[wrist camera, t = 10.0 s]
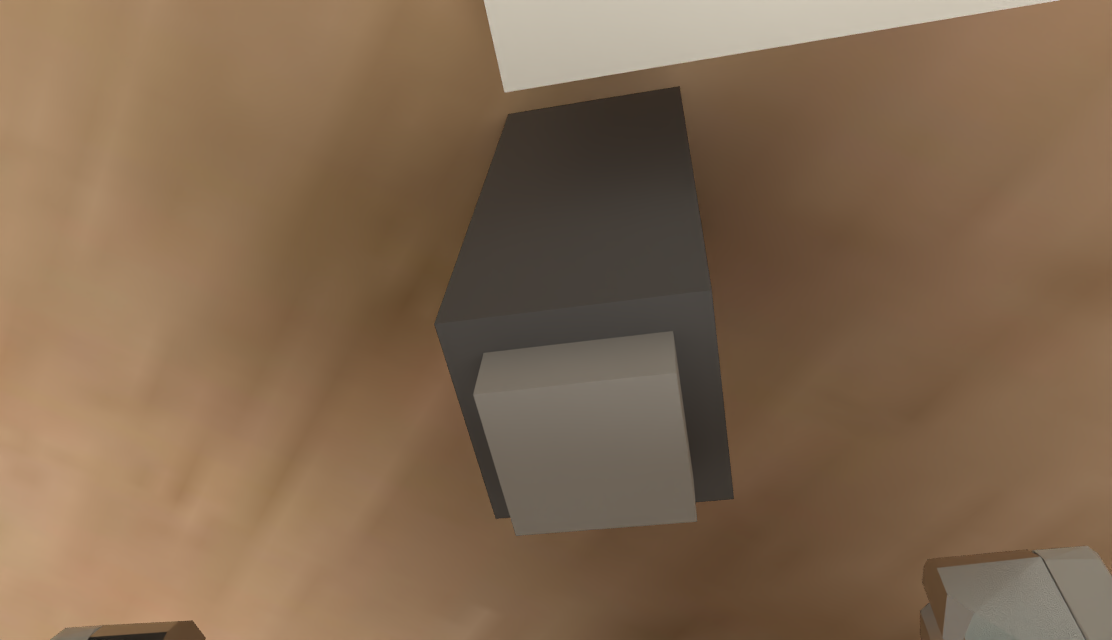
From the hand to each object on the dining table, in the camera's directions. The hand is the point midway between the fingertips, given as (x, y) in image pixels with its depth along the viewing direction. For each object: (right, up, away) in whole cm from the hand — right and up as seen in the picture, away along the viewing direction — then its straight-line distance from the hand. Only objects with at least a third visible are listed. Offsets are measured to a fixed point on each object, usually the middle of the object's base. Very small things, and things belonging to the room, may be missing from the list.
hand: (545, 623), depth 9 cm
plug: (+1, +7, +11) cm, 13 cm away
